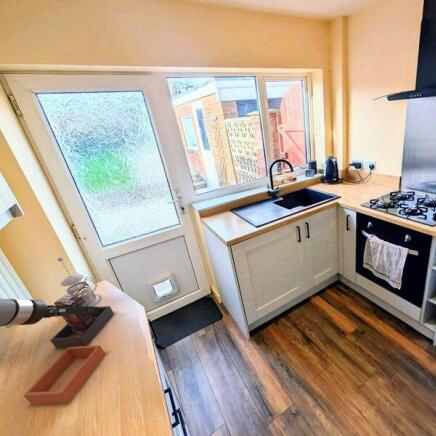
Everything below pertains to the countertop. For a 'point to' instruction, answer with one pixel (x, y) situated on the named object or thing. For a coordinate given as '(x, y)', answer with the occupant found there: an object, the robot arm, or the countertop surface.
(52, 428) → the countertop surface
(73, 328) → the supplement box
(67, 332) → the right crate
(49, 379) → the left crate
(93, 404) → the countertop surface
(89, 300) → the french press
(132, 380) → the countertop surface
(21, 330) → the countertop surface
